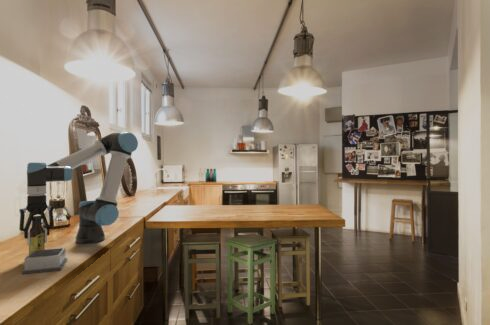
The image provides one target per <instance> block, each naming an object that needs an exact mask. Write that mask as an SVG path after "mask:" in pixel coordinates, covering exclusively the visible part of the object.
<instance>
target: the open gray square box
mask: <svg viewBox="0 0 490 325" xmlns="http://www.w3.org/2000/svg"><path fill="white" fill-rule="evenodd" d="M66 253H67V252H66V247H58V248H45V249H43V250H33V251H32V252H31V253H30V254H29V253H28V255H27V256H25V257H24V269H22V272H21V274H22V275H29V274H38V273H49V272H60V271H62V270H63V268H64V267H65V265H66V264H65V263H67V262H68V261H67V260H69V259H68V257H66V256H67V255H66ZM59 270H60V271H59Z"/></svg>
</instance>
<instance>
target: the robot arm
mask: <svg viewBox="0 0 490 325" xmlns="http://www.w3.org/2000/svg"><path fill="white" fill-rule="evenodd" d="M138 145H139V141H138V138H137V137H136V136H135V134H134V133H132V132H130V131H121V132H113V133H109V134H107V135H105V136H103V137H102V138H100V139H98V140H95V142H94V143H92V144H91V145H89V146H87V147H84V148H82V149H80V150H77V151H75V152H74V153H71V154H69V155H67V156H65V157H62V158H60V159H59V160H56V161H54V162H51V163H49V164H47V163H46V162H43V161H41V162H28V163H27V167H26V168H27V169H26V180H27V182H26V183H27V184H26V185H27V186H26V188H27V189H26V191H27V192H26V194H27V198H26V201H27V204H26V207H24V208H19V209H18V210H19V213H20V216H19V217H20V218H19V228H18V229H19V231H21V232H23V233H24V234H23V237H24V239H26V245H27V247H29V246H30V227H31V225H32V224H31V223H32V219H33V217H34V216H42V220H41V221H42V223H43V225H44V226H45V227H44V228H43V230H44V232H45V244H47V243H48V236H50V229H51V228H54V226H55V224H54V209H55V207H54V206H52V205H48V204H47V195H46V194H47V183H49V182H50V183H51V182H52V183H53V182H68V181H71V180H73V178H74V169H76V168H78V167H80V166H82V165H84V164H86V163H88V162H90V161H92V160H94V159H96V158H98V157H100V156H106V155H111V157H110V161H109V164H108V167H107V171H106V174H105V176H104V181H103V182H102V183H103V184H102V186H101V190H100V195H99V196H98V197H96V198H95V199H94V200H84V201H80V202H79V203H78V204H79V205H78V230H77V234H76V236H75V243H77V244H91V243H93V244H94V243H98V242H102V241H104V240H106V236H105V231H104V229H103V226H104V227H105V226H108V227H109V226H111V225H113V224H114V223H116V221H117V220H118V218H119V213H120V212H119V209H118V201H117V196H118V192H119V189H120V185H121V182H122V178H123V176H124V171H125V168H126V164H127V162H128V160H129V159H131V157H132V153H133V152H135V151H136V150H137V148H138ZM46 210H47V211H48V220H49V222H48V220H47V217H46V215H45V211H46ZM26 212H28V214H29V215H28V218H27V220H26V224H25V213H26Z"/></svg>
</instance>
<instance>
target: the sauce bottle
mask: <svg viewBox="0 0 490 325" xmlns="http://www.w3.org/2000/svg"><path fill="white" fill-rule="evenodd" d="M31 223H32V224H31V228H29V231H30V246H28V255H29V254H30V253H31V252H32V251H33V250H43V249H46V247H45V246H46V245H45V244H46V243H45V232H44V228H43V224H42V223H43V220H42V216H41V215H34V217H33V219H32V221H31Z"/></svg>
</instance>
